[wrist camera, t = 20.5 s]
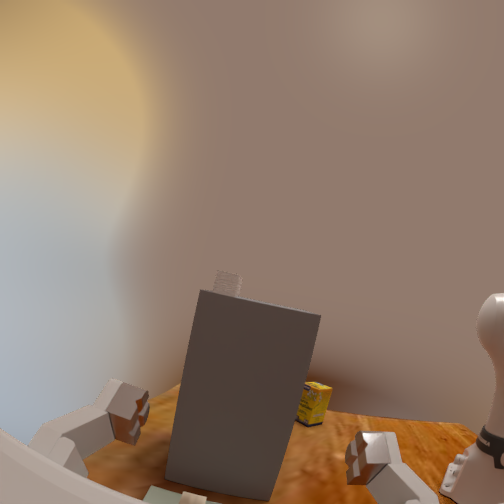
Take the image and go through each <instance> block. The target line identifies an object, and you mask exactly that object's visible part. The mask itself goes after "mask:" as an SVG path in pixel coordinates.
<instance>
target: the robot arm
mask: <svg viewBox="0 0 504 504" xmlns="http://www.w3.org/2000/svg"><path fill="white" fill-rule="evenodd" d="M477 335H478V338H479V341H480V343H481V345H482V346H483V348H484V349H485V350H486V351H487V353H488V354H489V356H490V358H491V360H492V363H493V366H494V370H495V378H496V386H495V393H494V398H493V402H492V406H491V410H490V413H489V416H488V419H487V422H486V424H485V426H483V428H482V430H481V431H480V433H479V435H478V438H477V439H476V442H475V443H474V444H472V445H471V446H469V447H468V448H466V449H465V450H464V453H463V455H461V454H457V455H456V457H455V460H454V463H450V464H449V466H448V468H447V470H446V473H445V476H444V479H443V482H442V484H441V487H440V490H439V492H440V493H441V494H443V495H445V496H448V497H450V498H451V499H453V500H454V501H455V502H457V503H458V504H504V293H498V294H492V295H491V296H490V297H489V298H488V299H487V300H486V301H485V302H484V304H483V305H482V307H481V309H480V312H479V314H478V318H477ZM148 397H149V395H148V391H146V390H143V389H140V388H138V387H135V386H132V385H129V384H127V383H124V382H121V381H119V380H116V379H113V378H112V379H110V380H109V381H108V382H107V384H106V386H105V387H104V389H103V390H102V392H101V393H100V395H99V396H98V398H97V400H96V401H95V403H94V404H93V406H91V405H87V406H85V407H83V408H81V409H78V410H76V411H73V412H71V413H69V414H66V415H64V416H62V417H59V418H57V419H54V420H52V421H49V422H47V423H44V424H43V425H42V426H41V427H40V429H39V430H38V431H37V433H36V434H35V436H34V437H33V439H32V440H31V441H30V443H29V445H28V446H26V445H25V444H23V443H21V442H20V441H18V440H17V439H15V438H14V437H12V436H11V435H9V434H8V433H6V432H5V431H3V430H2V429H1V428H0V504H151V503H148V502H145V501H142V500H139V499H136V498H133V497H130V496H128V495H125V494H122V493H120V492H117V491H115V490H112V489H110V488H107V487H105V486H103V485H100V484H98V483H96V482H94V481H91V480H89V479H87V476H88V474H89V473H88V470H87V468H86V466H85V464H84V462H83V459H85V458H86V457H88V456H90V455H91V454H93V453H95V452H96V451H98V450H100V449H101V448H103V447H104V446H106V445H108V444H109V443H111V442H112V441H114V440H115V439H117V440H119V441H122V442H125V443H128V444H131V445H134V446H135V445H136V442H137V440H138V438H139V436H140V434H141V432H140V427H142V426H143V425H145V423H146V421H147V418H148V414H149V403H148V402H147V399H148ZM345 462H346V464H347V465H348V466H349V469H348V470H347V471H346V475H347V485H366V487H367V488H368V490H369V491H370V493H371V494H372V496H373V497H374V498H375V500H376V501H377V503H378V504H439V501H438V496H437V495H436V494H435V493H434V492H433V491H432V490H431V489H430V488H429V487H428V486H427V485H426V484H425V483H424V482H423V481H422V480H421V479H420V478H419V477H418V476H417V475H416V474H415V473H414V472H413V471H412V470H411V469H410V468H409V467H408V466H407V465H406V464H405V463H402V460H401V455H400V451H399V447H398V443H397V439H396V434H395V433H394V432H380V431H359V432H357V434H356V435H355V440H354V441H352V442H350V444H349V445H348V447H347V450H346V454H345Z"/></svg>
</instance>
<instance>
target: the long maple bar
mask: <svg viewBox="0 0 504 504" xmlns="http://www.w3.org/2000/svg"><path fill="white" fill-rule="evenodd" d="M206 499H207V497H204V496H200V495H196V494H192V493H188V492H185V491H183V494H182V496H181V499H180V501H179V504H205V503H206Z"/></svg>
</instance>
